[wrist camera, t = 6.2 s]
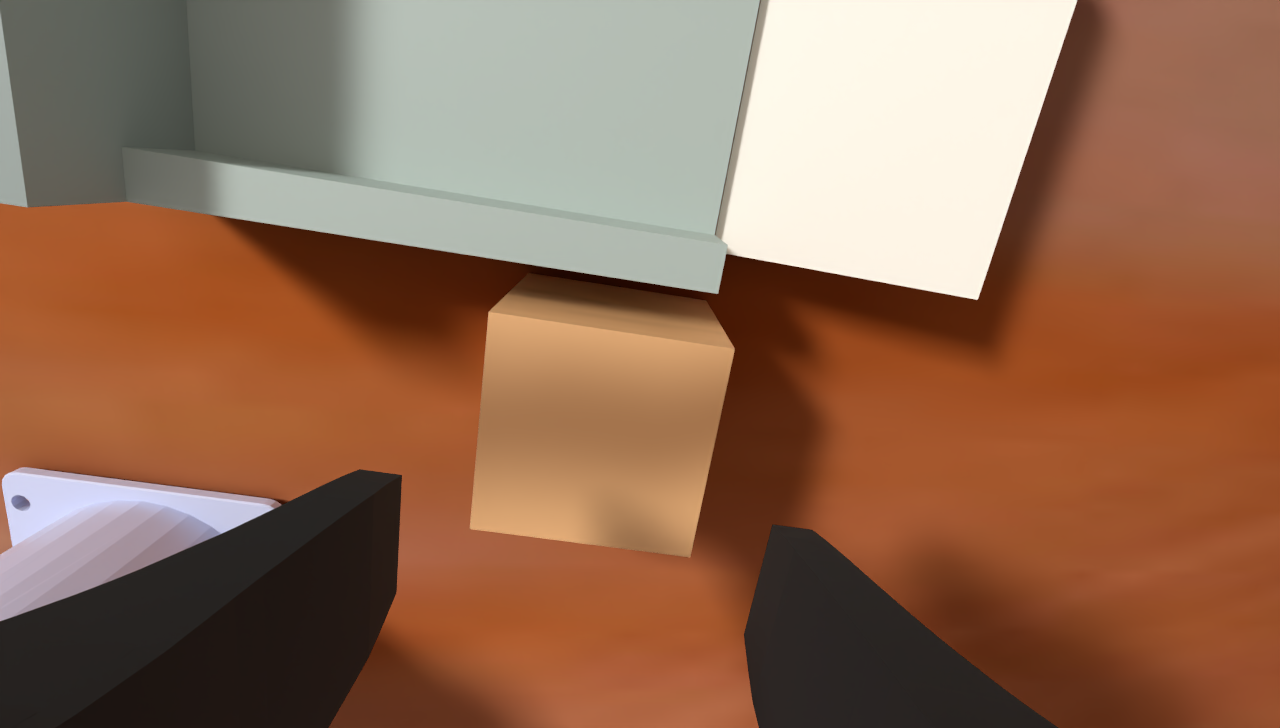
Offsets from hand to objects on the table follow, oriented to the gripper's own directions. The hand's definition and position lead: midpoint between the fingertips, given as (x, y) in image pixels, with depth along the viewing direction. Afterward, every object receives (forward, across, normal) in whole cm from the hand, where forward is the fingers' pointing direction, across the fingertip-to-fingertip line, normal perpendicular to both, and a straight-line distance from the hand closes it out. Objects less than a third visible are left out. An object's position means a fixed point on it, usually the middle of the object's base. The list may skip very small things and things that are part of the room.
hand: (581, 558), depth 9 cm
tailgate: (+7, -2, -9) cm, 12 cm away
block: (+9, 0, 0) cm, 9 cm away
